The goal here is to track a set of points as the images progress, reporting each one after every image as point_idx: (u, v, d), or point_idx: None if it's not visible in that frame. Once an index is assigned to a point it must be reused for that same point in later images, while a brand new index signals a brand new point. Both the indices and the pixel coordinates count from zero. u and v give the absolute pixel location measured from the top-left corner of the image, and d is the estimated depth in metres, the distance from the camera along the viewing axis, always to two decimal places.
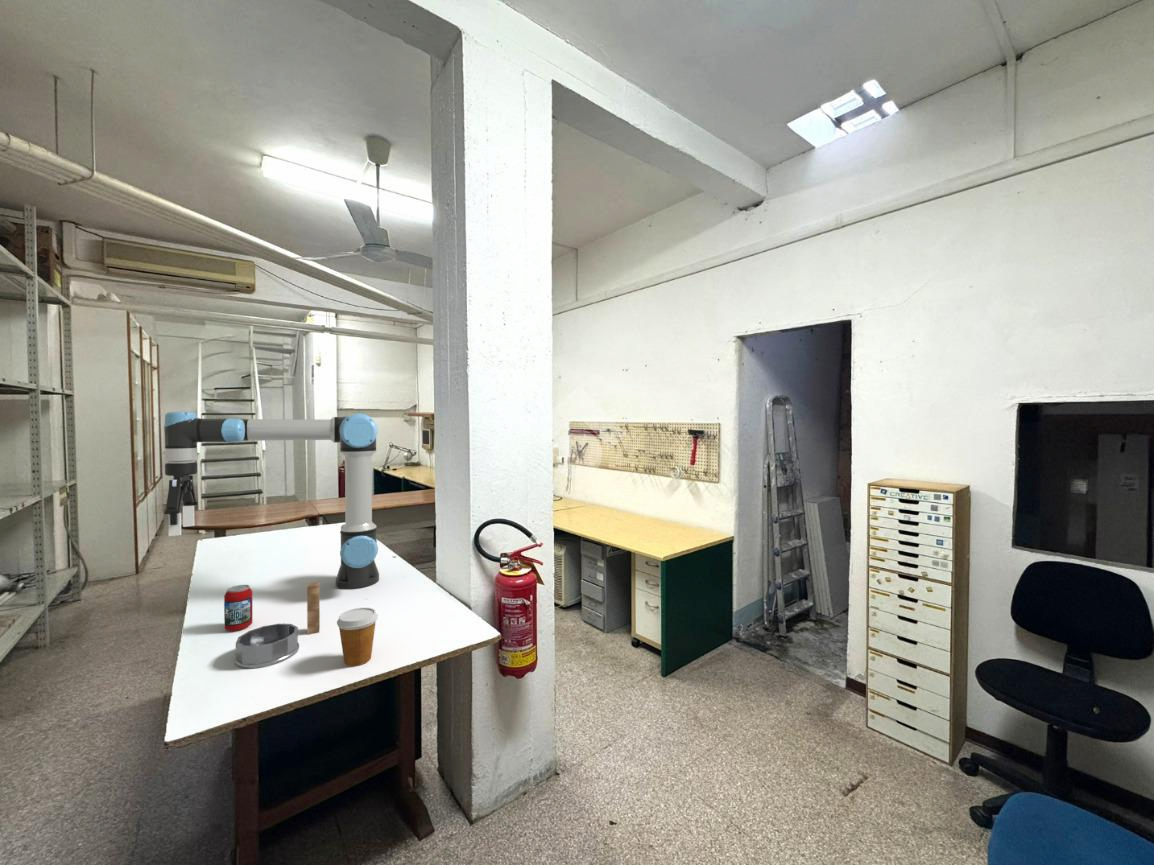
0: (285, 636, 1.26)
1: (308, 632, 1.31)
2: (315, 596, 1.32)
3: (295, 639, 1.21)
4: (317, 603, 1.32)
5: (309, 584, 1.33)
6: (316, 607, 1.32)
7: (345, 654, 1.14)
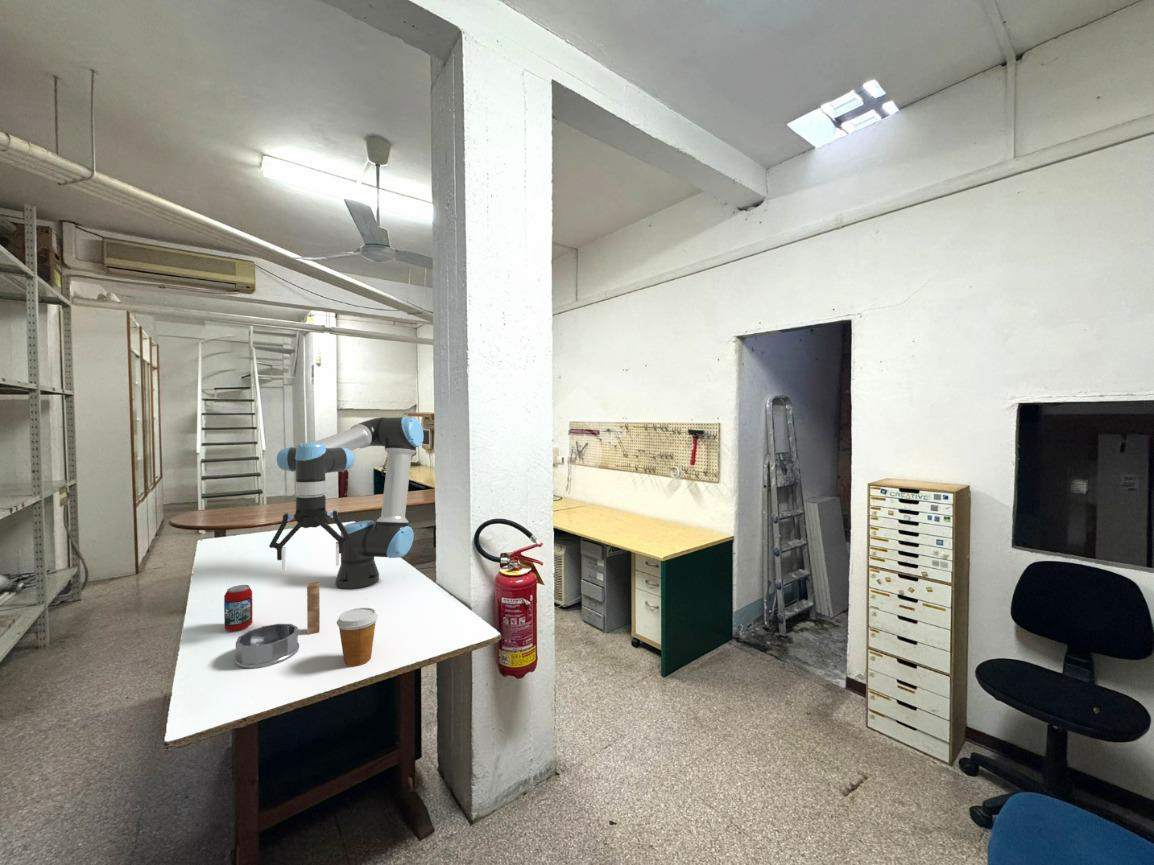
0: (285, 636, 1.26)
1: (308, 632, 1.31)
2: (315, 596, 1.32)
3: (295, 639, 1.21)
4: (317, 603, 1.32)
5: (309, 584, 1.33)
6: (316, 607, 1.32)
7: (345, 654, 1.14)
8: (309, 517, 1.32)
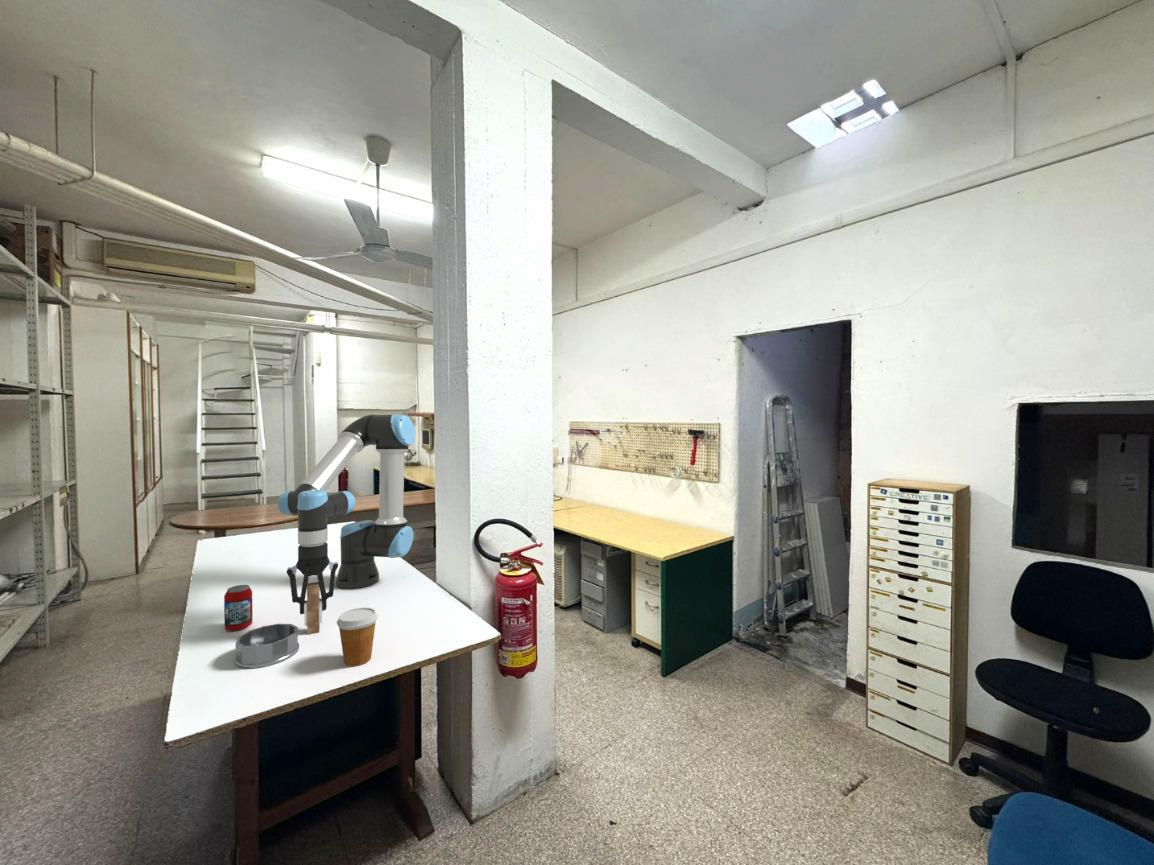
0: (285, 636, 1.26)
1: (308, 632, 1.31)
2: (314, 596, 1.32)
3: (295, 639, 1.21)
4: (317, 603, 1.32)
5: (309, 584, 1.33)
6: (316, 607, 1.32)
7: (345, 654, 1.14)
8: (310, 564, 1.32)
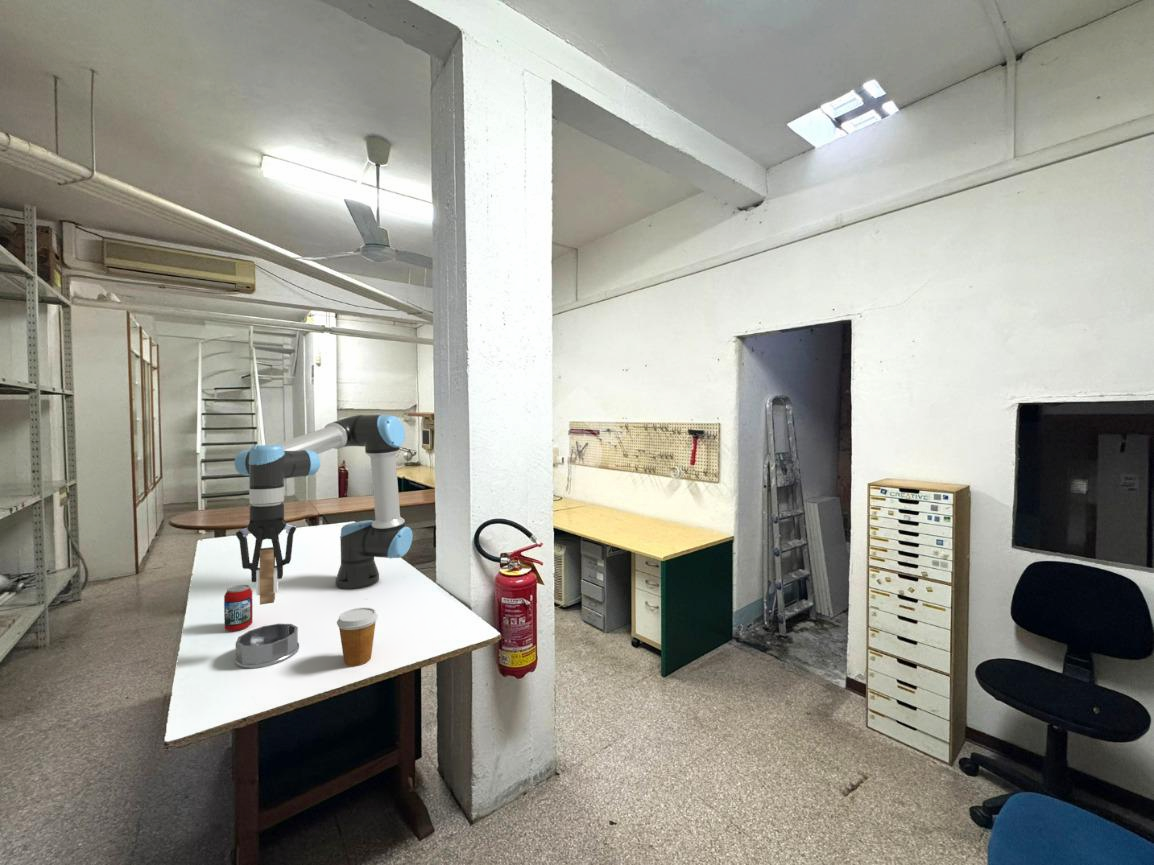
0: (285, 636, 1.26)
1: (261, 602, 1.18)
2: (268, 562, 1.18)
3: (295, 639, 1.21)
4: (271, 570, 1.19)
5: (262, 549, 1.19)
6: (270, 574, 1.19)
7: (345, 654, 1.14)
8: (264, 526, 1.18)
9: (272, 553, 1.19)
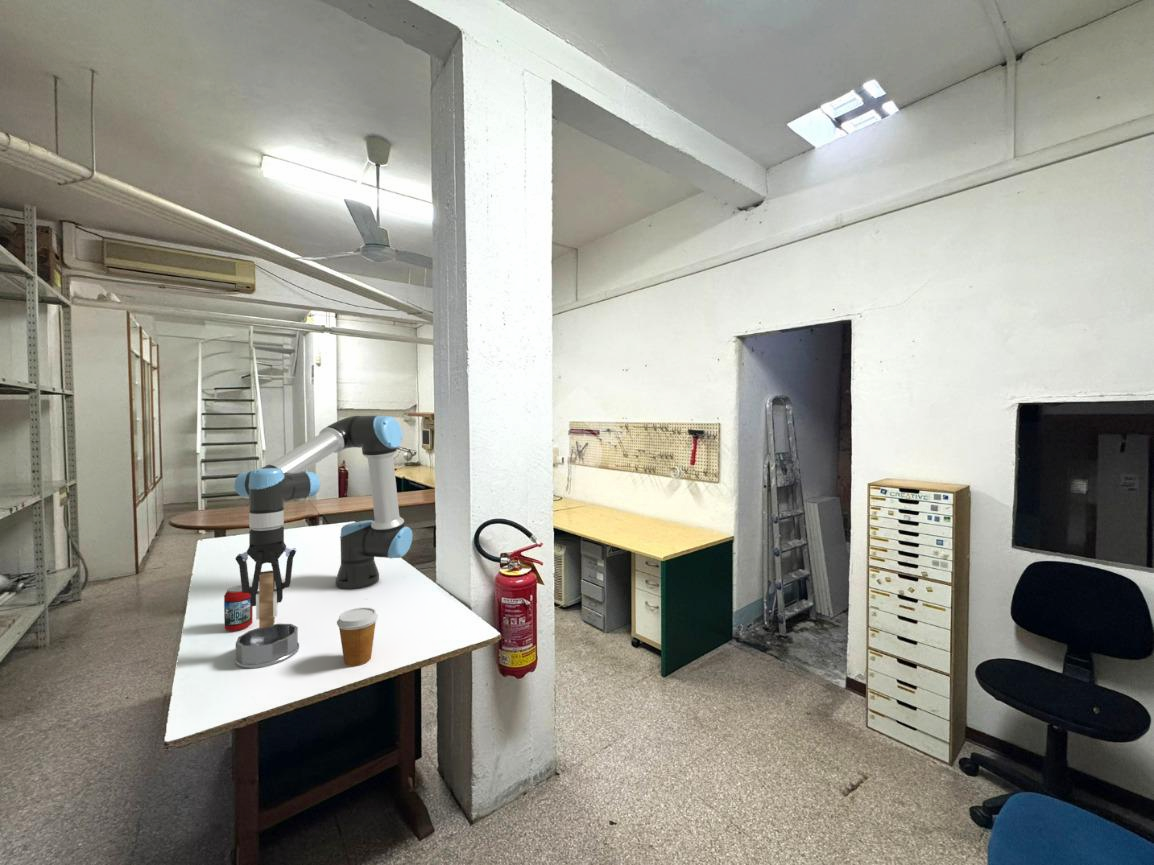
0: (285, 636, 1.26)
1: (260, 626, 1.18)
2: (268, 586, 1.18)
3: (295, 639, 1.21)
4: (271, 594, 1.19)
5: (262, 573, 1.19)
6: (269, 598, 1.19)
7: (345, 654, 1.14)
8: (263, 550, 1.18)
9: (272, 577, 1.19)
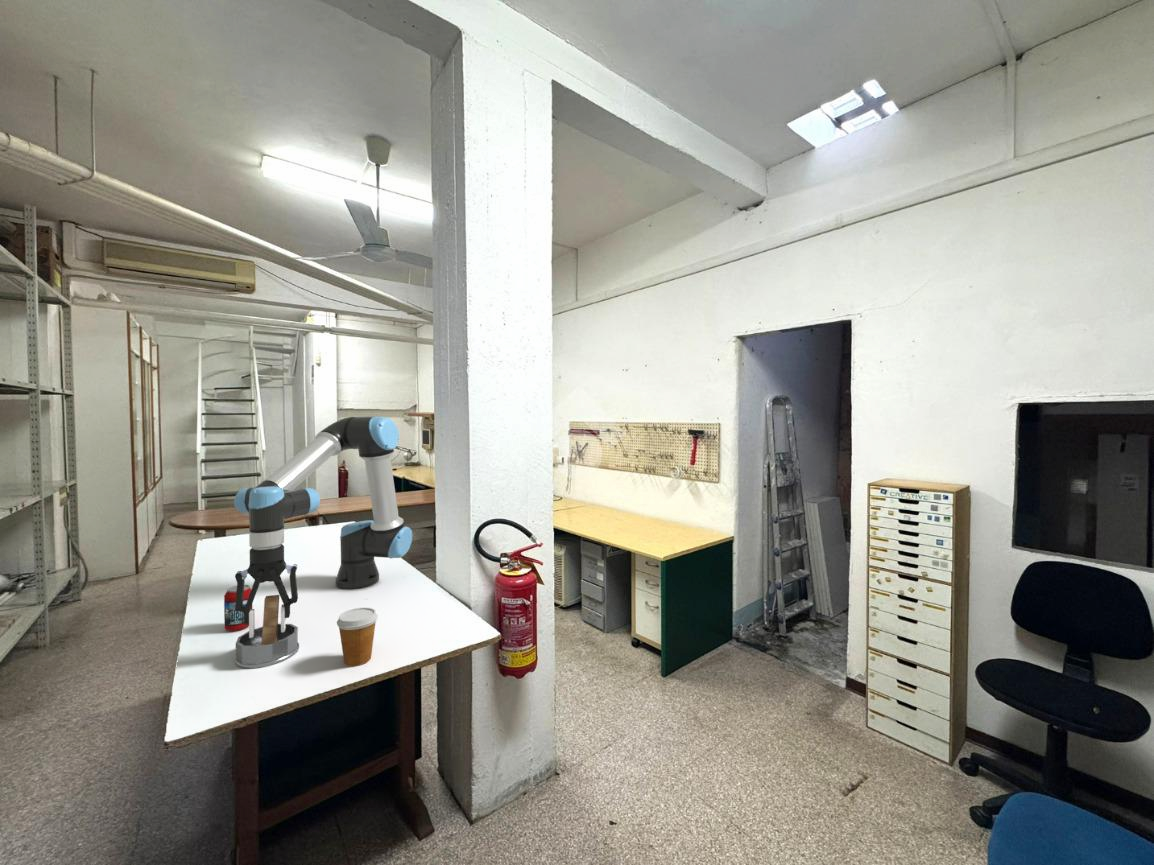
0: (285, 636, 1.26)
1: None
2: (272, 610, 1.20)
3: (295, 639, 1.21)
4: (275, 618, 1.20)
5: (267, 597, 1.20)
6: (273, 622, 1.20)
7: (345, 654, 1.14)
8: (264, 569, 1.18)
9: (276, 601, 1.20)
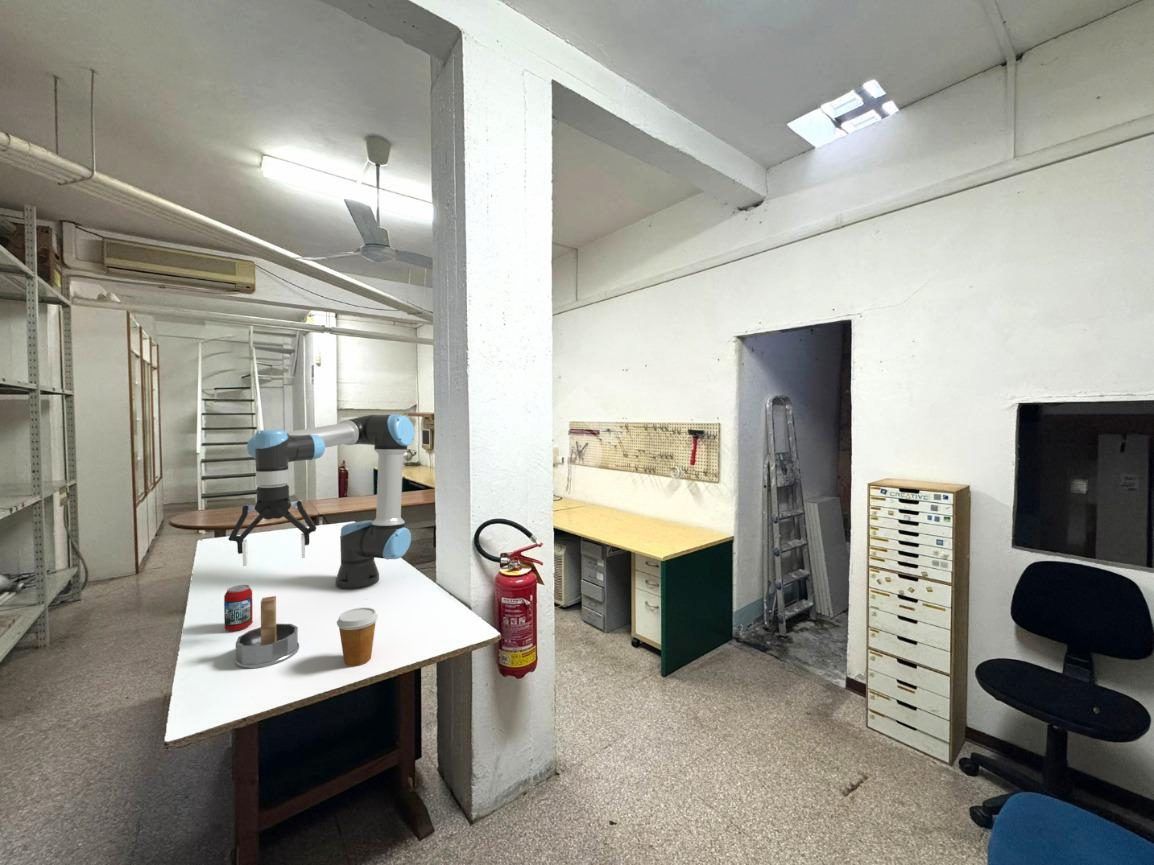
0: (285, 636, 1.26)
1: None
2: (269, 612, 1.19)
3: (295, 639, 1.21)
4: (272, 620, 1.19)
5: (263, 599, 1.19)
6: (271, 624, 1.19)
7: (345, 654, 1.14)
8: (271, 508, 1.25)
9: (273, 603, 1.19)
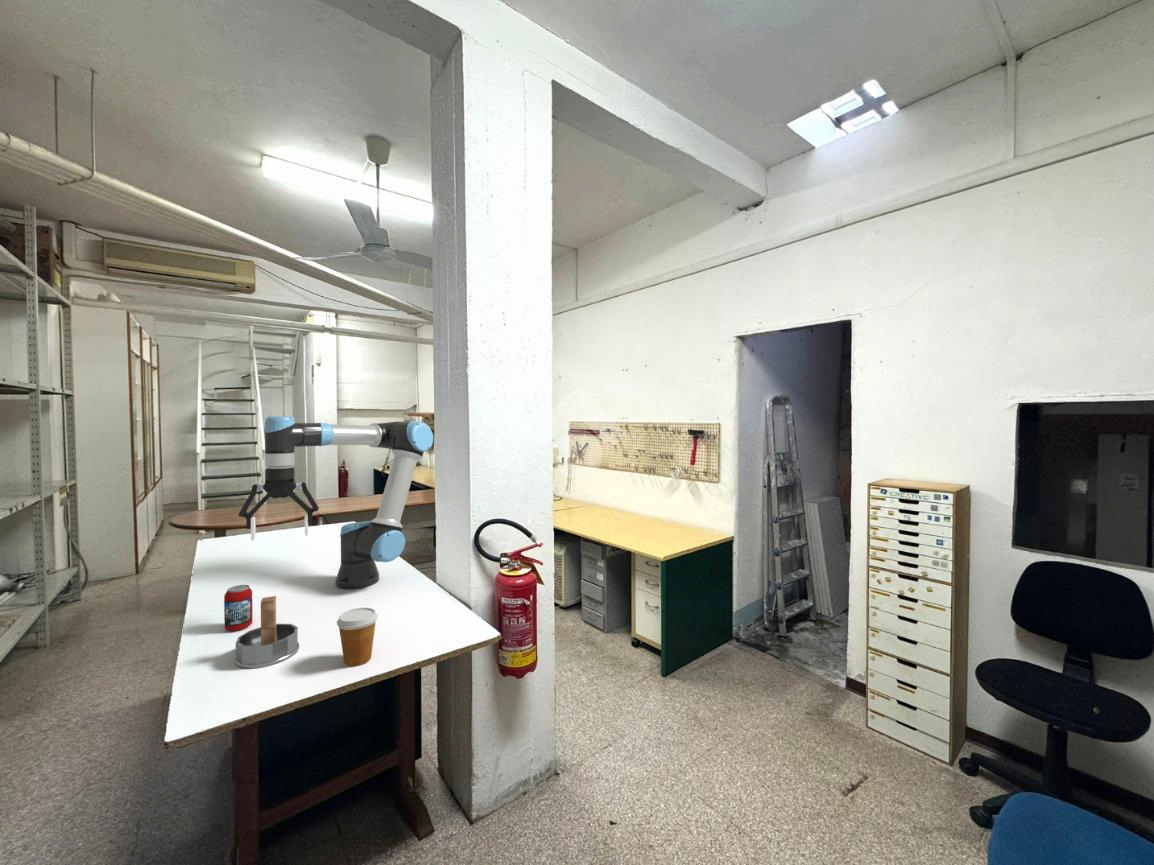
0: (285, 636, 1.26)
1: None
2: (269, 612, 1.19)
3: (295, 639, 1.21)
4: (272, 620, 1.19)
5: (263, 599, 1.19)
6: (271, 624, 1.19)
7: (345, 654, 1.14)
8: (278, 488, 1.36)
9: (273, 603, 1.19)
